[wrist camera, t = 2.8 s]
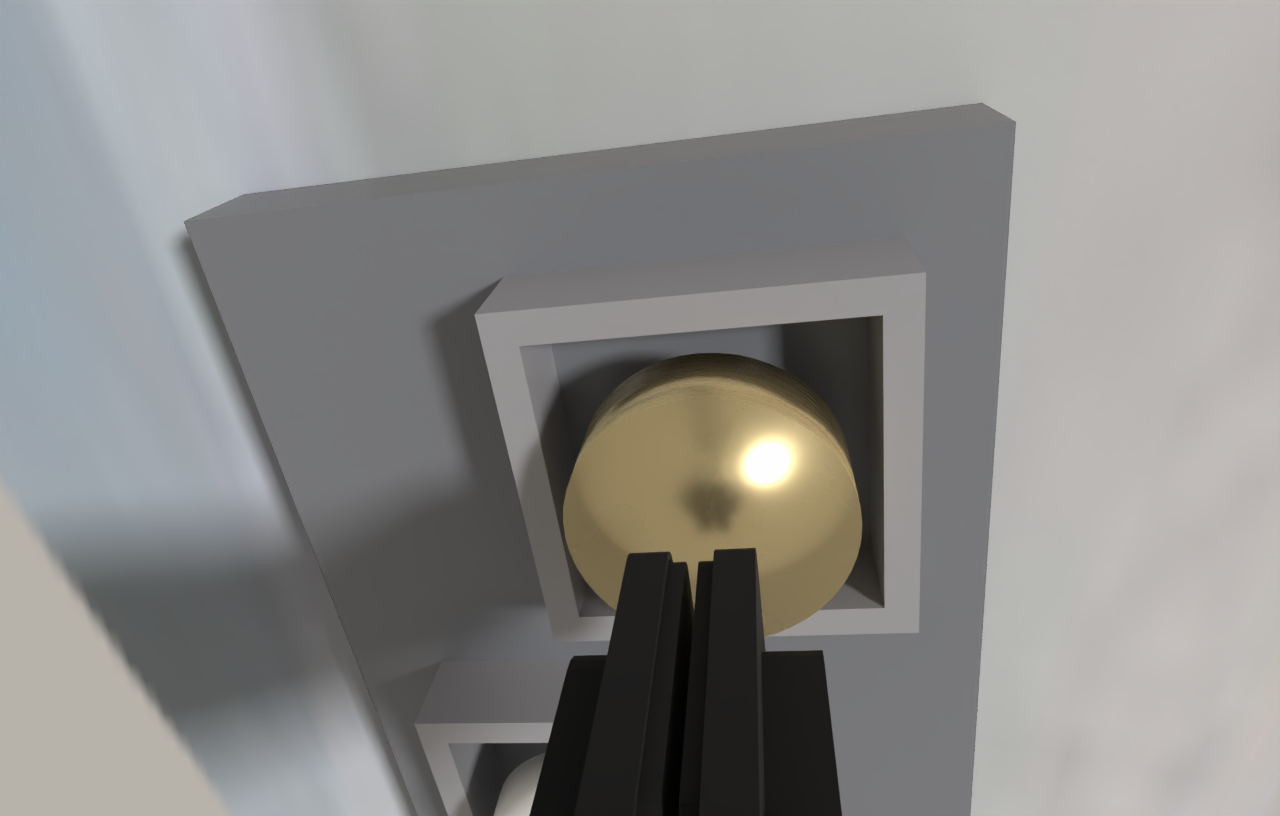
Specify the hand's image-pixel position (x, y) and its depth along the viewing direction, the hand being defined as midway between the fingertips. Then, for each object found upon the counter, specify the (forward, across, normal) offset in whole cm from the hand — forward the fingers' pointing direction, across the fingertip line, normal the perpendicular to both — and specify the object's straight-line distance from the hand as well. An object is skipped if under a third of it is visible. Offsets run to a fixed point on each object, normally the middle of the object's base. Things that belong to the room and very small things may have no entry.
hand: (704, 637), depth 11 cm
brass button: (+4, 0, 0) cm, 4 cm away
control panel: (+7, +2, +9) cm, 12 cm away
